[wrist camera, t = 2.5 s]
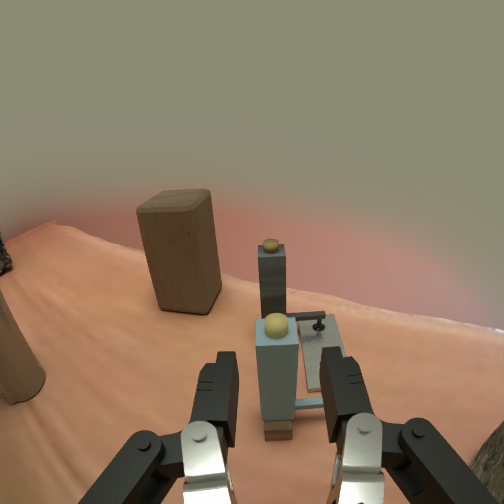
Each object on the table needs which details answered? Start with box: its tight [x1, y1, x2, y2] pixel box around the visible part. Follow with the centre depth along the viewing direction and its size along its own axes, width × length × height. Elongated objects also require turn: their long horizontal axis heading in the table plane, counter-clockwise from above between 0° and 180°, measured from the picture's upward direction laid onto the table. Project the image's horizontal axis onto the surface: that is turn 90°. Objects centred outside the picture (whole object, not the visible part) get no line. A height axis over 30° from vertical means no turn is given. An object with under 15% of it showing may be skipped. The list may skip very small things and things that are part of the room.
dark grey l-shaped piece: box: [258, 239, 326, 441], centre depth 35 cm, size 22×10×16 cm, turn 178°
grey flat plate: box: [298, 314, 346, 392], centre depth 41 cm, size 15×6×1 cm, turn 178°
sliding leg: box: [256, 313, 324, 421], centre depth 27 cm, size 4×10×15 cm, turn 88°
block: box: [136, 189, 222, 314], centre depth 52 cm, size 10×10×20 cm
